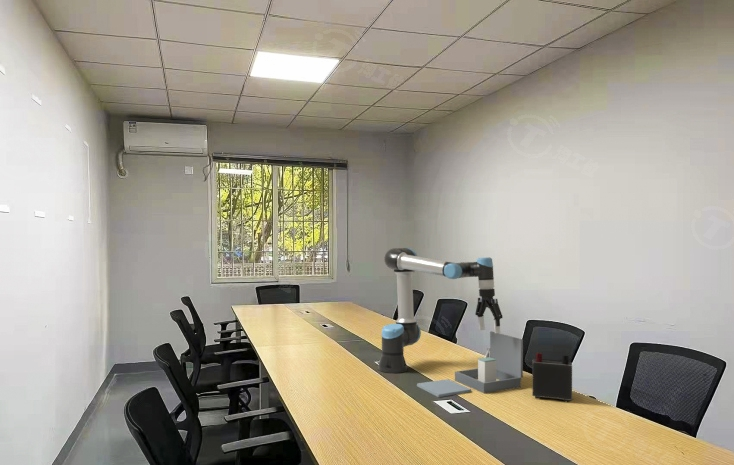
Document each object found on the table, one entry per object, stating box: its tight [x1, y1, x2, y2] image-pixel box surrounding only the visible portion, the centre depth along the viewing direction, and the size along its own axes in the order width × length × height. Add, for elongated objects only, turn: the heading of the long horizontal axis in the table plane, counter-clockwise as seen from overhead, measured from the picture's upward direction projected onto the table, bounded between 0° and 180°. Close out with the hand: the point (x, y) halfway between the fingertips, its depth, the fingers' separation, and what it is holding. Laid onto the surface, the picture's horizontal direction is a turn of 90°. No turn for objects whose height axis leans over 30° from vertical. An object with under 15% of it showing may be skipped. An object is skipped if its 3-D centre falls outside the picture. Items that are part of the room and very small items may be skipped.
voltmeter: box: [532, 352, 573, 403], centre depth 222 cm, size 16×16×20 cm
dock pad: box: [416, 378, 472, 398], centre depth 230 cm, size 18×18×1 cm
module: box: [477, 356, 497, 382], centre depth 239 cm, size 5×7×12 cm
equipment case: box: [454, 331, 524, 394], centre depth 240 cm, size 23×23×22 cm
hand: (489, 331), depth 245 cm, fingers open, 13 cm apart
